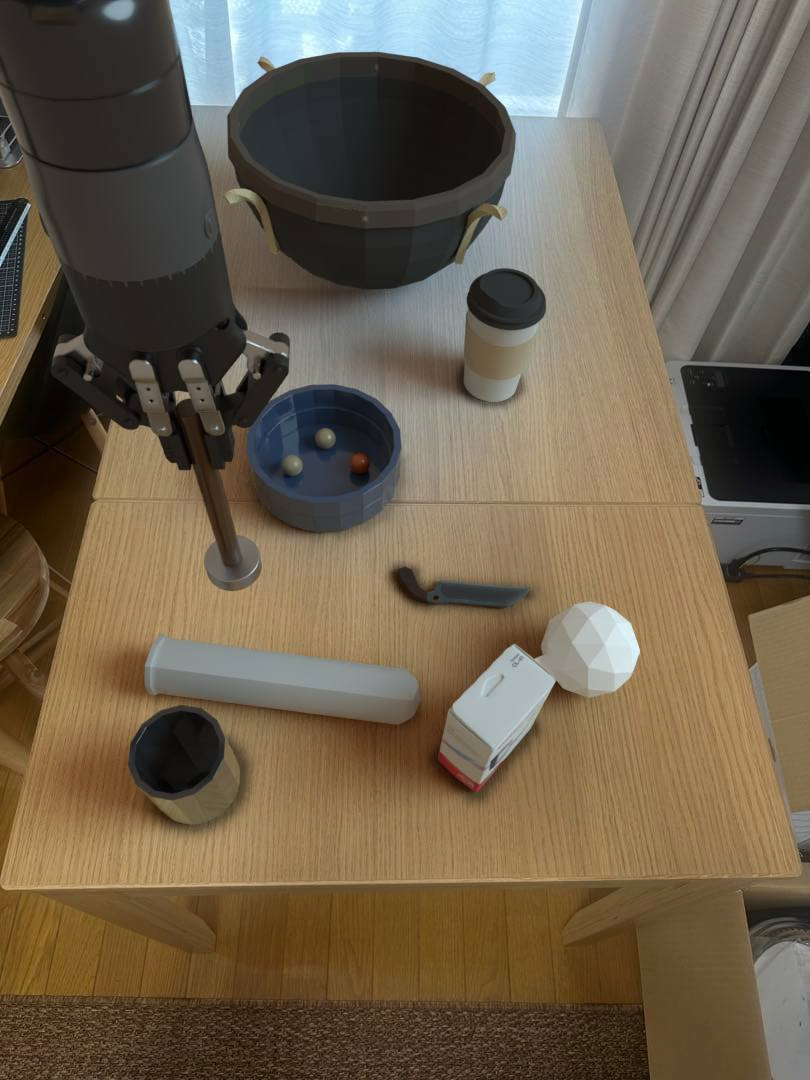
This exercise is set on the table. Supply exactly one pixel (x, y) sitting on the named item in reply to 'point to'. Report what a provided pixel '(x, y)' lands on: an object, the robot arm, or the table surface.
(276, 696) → the tube
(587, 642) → the light bulb
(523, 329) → the coffee cup
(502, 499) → the table surface
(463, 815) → the table surface
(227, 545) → the brown handled pestle
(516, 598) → the knife
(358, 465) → the bead
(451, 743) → the ink box
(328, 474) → the mixing bowl
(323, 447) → the bead
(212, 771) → the holder
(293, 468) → the bead
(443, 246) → the bowl
